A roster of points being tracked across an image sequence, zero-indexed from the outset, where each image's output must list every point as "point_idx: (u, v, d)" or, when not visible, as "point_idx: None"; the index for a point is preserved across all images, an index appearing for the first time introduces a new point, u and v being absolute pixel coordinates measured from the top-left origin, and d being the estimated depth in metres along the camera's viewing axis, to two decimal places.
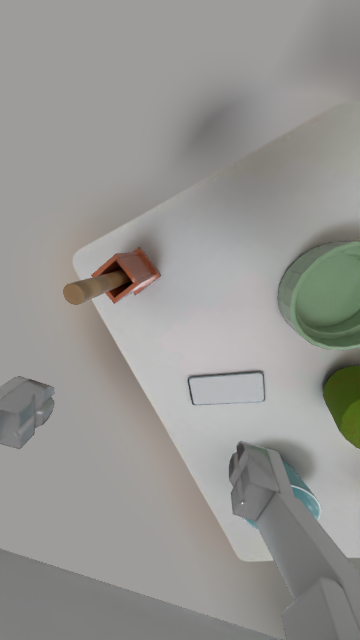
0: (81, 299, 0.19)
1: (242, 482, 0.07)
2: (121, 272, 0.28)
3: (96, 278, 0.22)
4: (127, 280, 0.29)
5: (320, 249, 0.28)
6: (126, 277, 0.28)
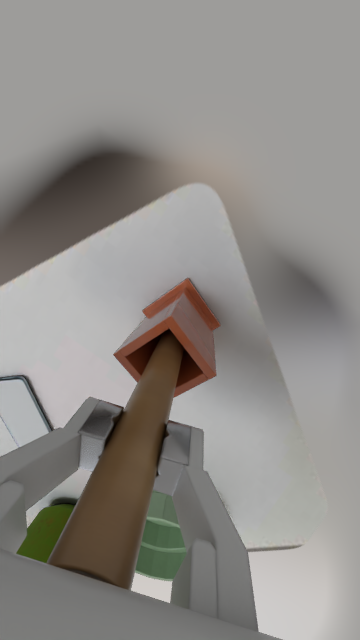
0: None
1: (159, 457, 0.07)
2: None
3: None
4: None
5: None
6: None
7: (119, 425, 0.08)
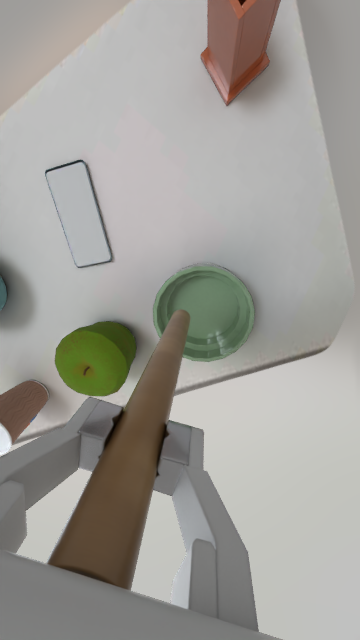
0: None
1: (159, 457, 0.07)
2: None
3: None
4: None
5: None
6: None
7: (119, 425, 0.08)
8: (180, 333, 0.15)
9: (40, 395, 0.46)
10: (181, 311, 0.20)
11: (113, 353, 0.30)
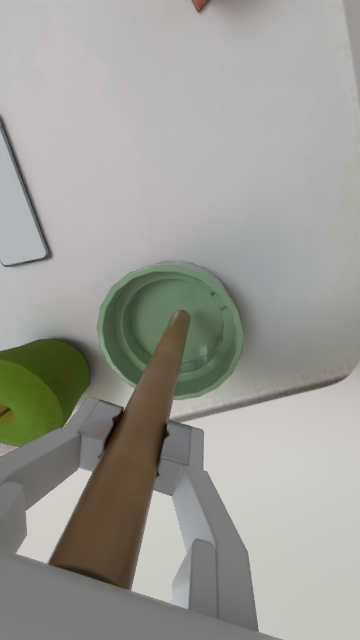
0: None
1: (159, 457, 0.07)
2: None
3: None
4: None
5: (232, 299, 0.21)
6: None
7: (119, 425, 0.08)
8: (180, 333, 0.15)
9: None
10: (181, 311, 0.20)
11: (36, 392, 0.21)
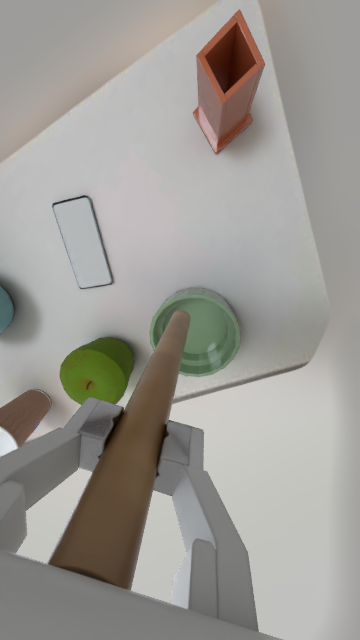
0: None
1: (159, 457, 0.07)
2: None
3: None
4: None
5: (233, 313, 0.35)
6: None
7: (119, 426, 0.08)
8: (180, 334, 0.15)
9: (43, 404, 0.49)
10: (181, 311, 0.20)
11: (113, 370, 0.34)
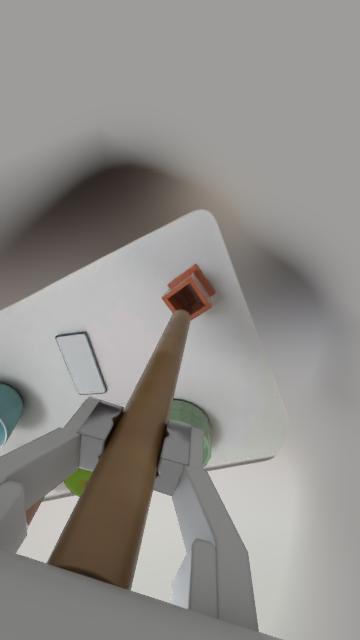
0: None
1: (159, 457, 0.07)
2: None
3: None
4: None
5: (206, 426, 0.41)
6: None
7: (119, 425, 0.08)
8: (180, 334, 0.15)
9: None
10: (181, 311, 0.20)
11: None
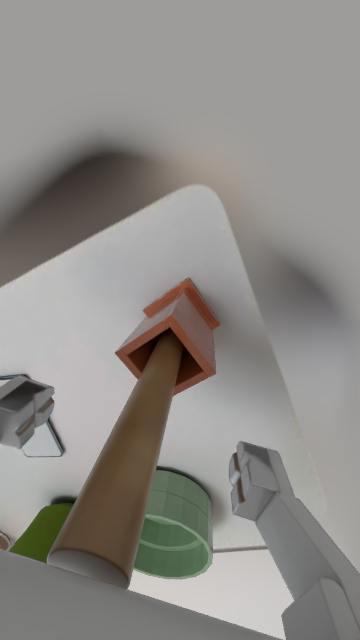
0: None
1: (242, 482, 0.07)
2: None
3: None
4: None
5: (205, 514, 0.28)
6: None
7: (120, 419, 0.08)
8: None
9: None
10: None
11: None
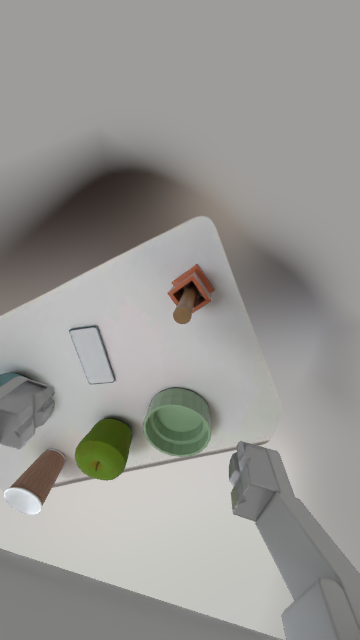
0: (178, 321, 0.22)
1: (242, 482, 0.07)
2: None
3: None
4: None
5: (206, 411, 0.45)
6: None
7: (180, 300, 0.25)
8: (194, 288, 0.33)
9: (60, 462, 0.60)
10: None
11: (115, 456, 0.45)
